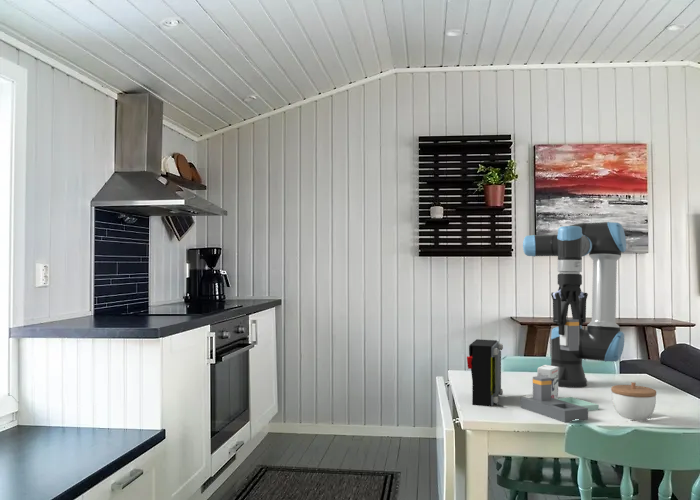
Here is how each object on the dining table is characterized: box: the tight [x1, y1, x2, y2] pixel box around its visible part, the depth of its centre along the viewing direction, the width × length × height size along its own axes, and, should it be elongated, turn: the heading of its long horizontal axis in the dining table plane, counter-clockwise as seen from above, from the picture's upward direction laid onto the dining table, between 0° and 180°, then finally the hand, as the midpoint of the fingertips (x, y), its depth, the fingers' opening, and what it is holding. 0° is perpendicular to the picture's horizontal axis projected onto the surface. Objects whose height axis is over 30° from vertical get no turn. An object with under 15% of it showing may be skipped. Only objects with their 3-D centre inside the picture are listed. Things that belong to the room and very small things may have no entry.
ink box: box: [536, 364, 559, 399], centre depth 209 cm, size 8×5×12 cm, turn 144°
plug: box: [560, 318, 579, 351], centre depth 195 cm, size 4×4×10 cm
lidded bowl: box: [610, 381, 657, 422], centre depth 185 cm, size 13×13×11 cm
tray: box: [557, 396, 600, 412], centre depth 197 cm, size 12×12×2 cm
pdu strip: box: [520, 375, 589, 424], centre depth 188 cm, size 20×9×11 cm, turn 23°
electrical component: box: [466, 338, 504, 408], centre depth 208 cm, size 18×10×20 cm, turn 160°
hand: (569, 344), depth 195 cm, fingers closed on plug, 4 cm apart
